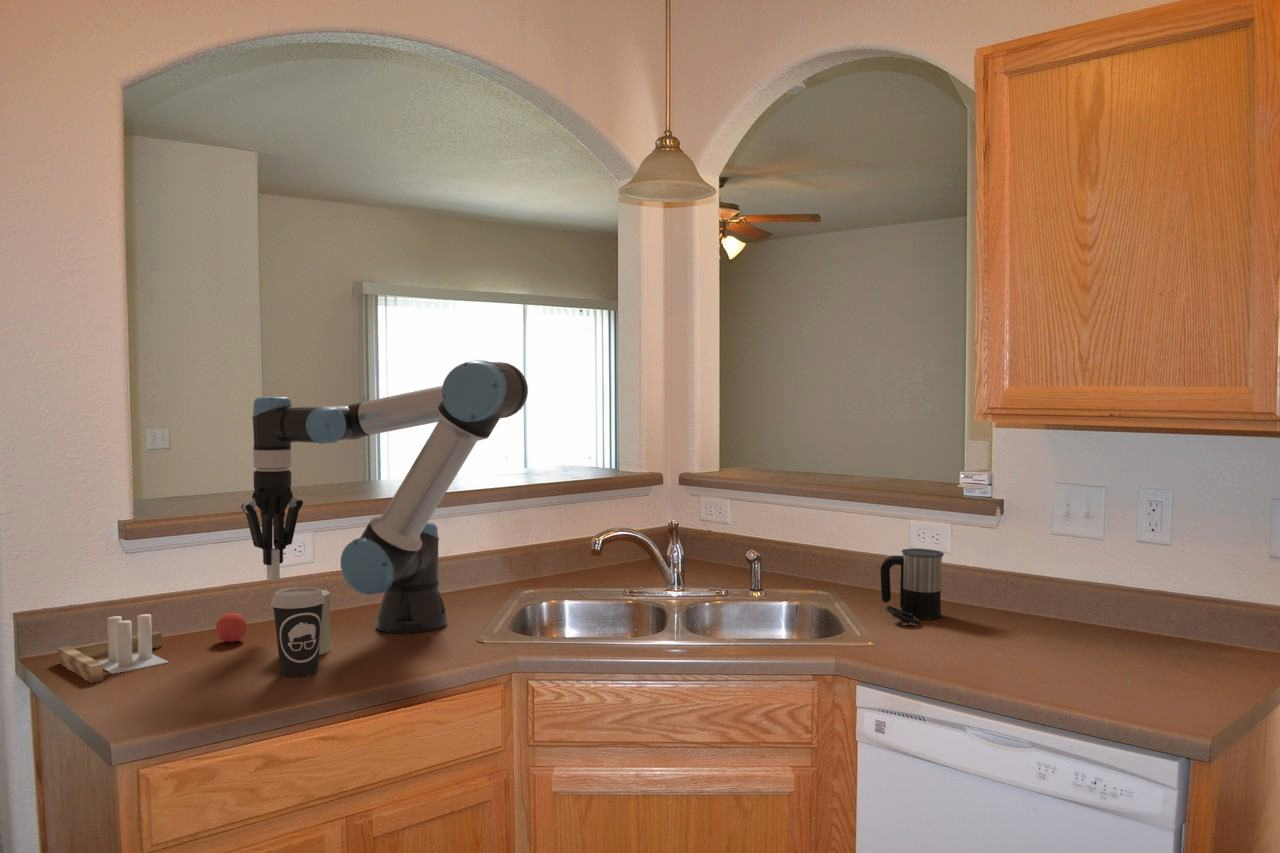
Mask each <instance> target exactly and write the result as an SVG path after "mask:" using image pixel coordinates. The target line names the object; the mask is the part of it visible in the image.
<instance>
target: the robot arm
mask: <svg viewBox="0 0 1280 853" xmlns="http://www.w3.org/2000/svg"><path fill="white" fill-rule="evenodd" d="M528 394H529V386H528V382H527V379H526V377H525V375H524V374H523V373H522V371H521V370H520V369H519V368H517V367H516V366H514V365H513V364H510V363H507V362H502V361H498V362H497V361H487V360H482V359H481V360H480V359H478V360H477V359H476V360H470V361H466V362H462V363H460V364H458V365H457V366H455V367H454V368H451V370H450V371H449V373H447V375H446V376H445V378H444V381H443V383H442V385H439V386H433V387H428V388H425V389H420V390H415V391H409V392H406V393H405V392H404V393H400V394H395V395H391V396H385V397H381V398H377V399H372V400H367V401H362V402H357V403H350V404H346V405H339V406H338V405H336V406H335V405H332V406H331V405H330V406H294V405H293V406H292V402H291V398H289V397H288V396H259V397H257V398H255V399H254V401H253V407H252V408H253V412H252V416H251V417H252V418H251V419H252V430H253V449H252V450H253V456H252V457H253V468H254V469H256V470H254V472H253V489H254V491H253V493H252V496H251V499H250V500H249V501H248V502H247V503H242V504H241V505H240V507H241V509H242V511H243V513H245V516H246V518H247V524H248V528H249V531H250V535H251V540H252V543H253V546H254V547H255V548H258V549H259V548H260V549H261V550H262V563H263V565H266V579H267V580H269V581H274V582H275V581H280V580H281V579H280V578H281V577H280V576H281V575H280V573H281V572H280V569H281V568H280V564H283V562H284V550H285V549H286V548H287V546H290V545H292V543H293V540H294V534H295V531H296V526H297V520H298V516H299V512H300V510H301V508H302V506H303V505H304V501H303V500H302V499H298V498H296V497H295V496H294V494H293V492H292V488H291V487H292V471H291V470H290V468H291V467H292V443H307V444H308V443H311V444H320V445H323V444H333V443H334V444H335V443H338V442H339V441H342V440H343V441H344V440H346V441H347V440H352V441H353V440H358V439H361V438H364V437H369V436H372V435H378V434H383V433H388V432H393V431H399V430H403V429H407V428H413V427H419V426H423V425H429V424H434V423H436V425H435V427H434V428H433V430H432V432H431V434H430V435H429V437H428V438H427V440H426V442H425V443H424V445H423V446H422V448H421V450H420V452H419V453H418V455H417V457H416V459H415V460H414V462H413V463H412V465H411V466H410V469H409V470H408V472H407V473H406V475H405V477H404V479H403V480H402V482H401V483H400V485H399V487H398V488H397V490H396V492H395V494H394V495H393V497H392V499H391V501H390V502H389V503H388V505H387V507H386V508H385V510H384V511H383V513H382V514H381V515H376V516H373V517H372V518H371V519H370V521H369V522H368V524H367V525H366V527H365V529H364V531H363V532H362V534H361V536H360V537H359V538H355V539H353V540H352V541H350V542H349V543H348V544H347V545H346V546H345V547H344V548H343V550H342V553H341V556H340V562H339V563H340V569H341V572H342V576H343V579H344V580H345V581H346V583H347V584H348V585H349V587H350V588H352V589H353V590H354V591H356V592H358V593H360V594H363V595H376V594H382V593H383V595H382V599H381V602H380V605H379V608H378V612H377V615H376V628H377V630H379V631H381V632H385V633H389V634H390V633H393V634H417V633H425V632H430V631H431V632H432V631H435V630H439V629H441V628H444V627H445V626H446V625H447V624H448V613H447V610H446V606H445V605H444V601H443V598H442V595H441V592H440V589H439V588H440V587H439V541H440V538H439V533H438V526H437V524H435V523H433V522H429V521H430V519H431V517H432V516H433V514H434V513H435V511H436V510H437V508H438V506H439V504H440V503H441V501H442V500H443V498H444V497H445V494H446V493H447V492H448V490H449V488H450V487H451V485H452V483H453V481H454V480H455V478H456V476H457V475H458V474H459V472H460V471H461V468H462V466H463V465H464V463H465V462H466V460H467V459H468V457H469V455H470V454H471V452H472V451H473V449H474V448H475V447H474V446H476V444H477V442H478V441H482V440H486V439H487V440H488V438H489V437H490V436H491V434H492V432H493V430H494V429H495V427H496V426H497V425H498V424H497V423H498V422H499V421H500V419H505V418H508V417H511V416H514V415H516V414H517V413H518V412H519V411H520V410H521V409H522V408H523V407H524V406H525V403H526V402H527V398H528ZM288 506H289V507H288ZM287 507H288V509H287ZM257 508H258V509H259V511H260V517H261V525H260V522H259V517H258V513H257V512H256V510H257ZM286 509H287V513H286ZM285 516H286V519H285ZM443 626H444V627H443ZM438 628H439V629H438Z"/></svg>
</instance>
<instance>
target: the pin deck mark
mask: <svg viewBox="0 0 1280 853" xmlns="http://www.w3.org/2000/svg"><path fill="white" fill-rule="evenodd" d="M98 660H99V661H98ZM96 661H98V662H100V663H102V664H103V669H104V670H103V671H105V670H106V671H105V672H107V671H108V672H107V673H109V674H111V675H116V674H120V672H121V673H124V672H130V671H135V670H140V669H145V668H150V667H155V666H160V665H164V664H165V665H166V664H169V661H168V660H166V659H164V658H162V657H160V656H157V655H155V654H154V653H152V658H150V659H146V660H139V659H138V652H132V661H133V665H132V666H129V667H118V662H109V659H108V657H106V658H105V659H96ZM115 673H116V674H115Z"/></svg>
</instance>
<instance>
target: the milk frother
mask: <svg viewBox="0 0 1280 853" xmlns="http://www.w3.org/2000/svg"><path fill="white" fill-rule="evenodd" d="M901 553H902V555H890V556H888V557H886V558H885V559H884V560H883V561H882V563H881V566H880V570H879V571H880V572H879V573H880V588H881V589H880V590H881V591H880V592H881V593H880V594H881V600H882V602H883V603H885V604H886V603H890V600H891V599H892V598H891V597H892V595H891V592H892V591H891V572H890V571H891V568H892V567H893V566H895V565H897V566H898V565H899V566H900V584H899V585H900V588H899V589H900V595H899V596H900V597H899V598H900V600H899V602H900V603H899V606H900V608H901V610H900V609H899V608H896V607H895V606H894V607H893V606H891V605H887V606H886V607H885V611H887V612H888V613H890V614H891V615H892V616H894V617H896V618H898V619H899V620H900V621H902V622H903V623H906V624H908V625H909V624H916V625H919V624H920V621H921V620H934V619H933V618H938V619H940V618H939V617H941V616H942V617H943V614H942V612H941V611H942V610H941V609H942V608H941V606H942V605H941V604H942V603H941V601H942V600H941V595H942V594H941V592H942V591H941V589H942V587H941V585H942V559H943V556H944V554H945V553H944V552H942V551H940V550H935V549H927V548H925V549H924V548H905V549H902V550H901ZM942 617H941V618H942ZM918 618H920V619H918Z"/></svg>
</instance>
